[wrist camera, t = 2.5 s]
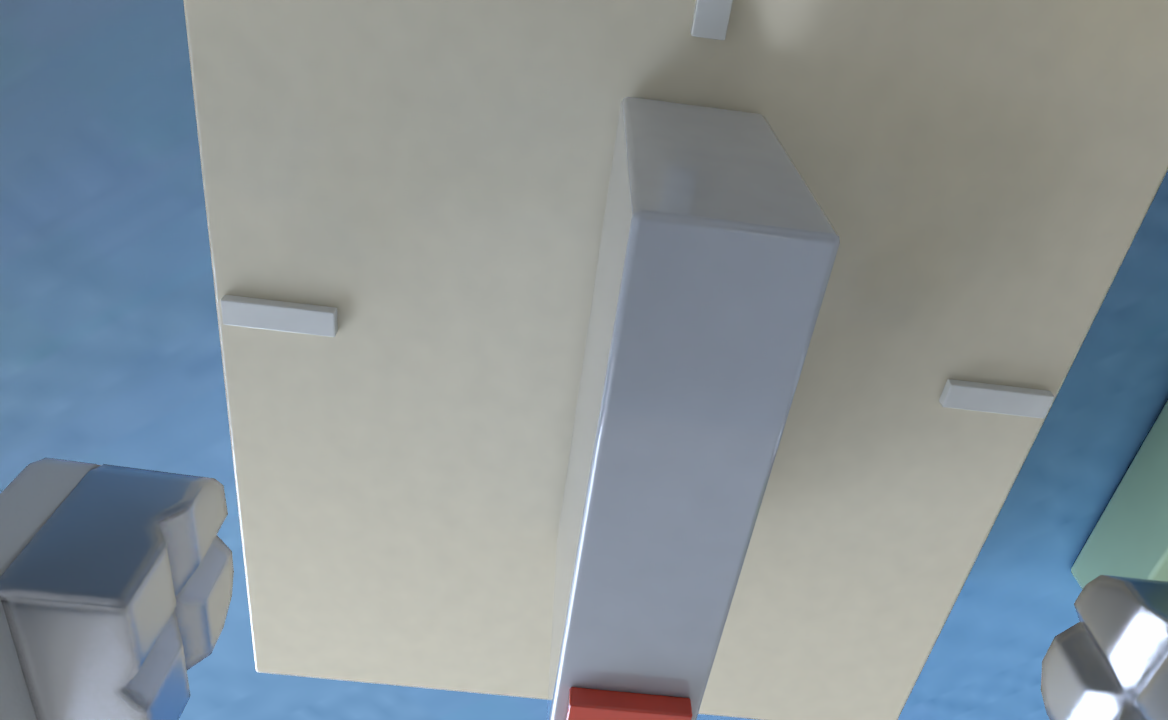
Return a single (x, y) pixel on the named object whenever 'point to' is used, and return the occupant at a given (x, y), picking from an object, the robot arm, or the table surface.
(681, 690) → the tap handle
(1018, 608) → the table surface
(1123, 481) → the button block
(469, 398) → the block
